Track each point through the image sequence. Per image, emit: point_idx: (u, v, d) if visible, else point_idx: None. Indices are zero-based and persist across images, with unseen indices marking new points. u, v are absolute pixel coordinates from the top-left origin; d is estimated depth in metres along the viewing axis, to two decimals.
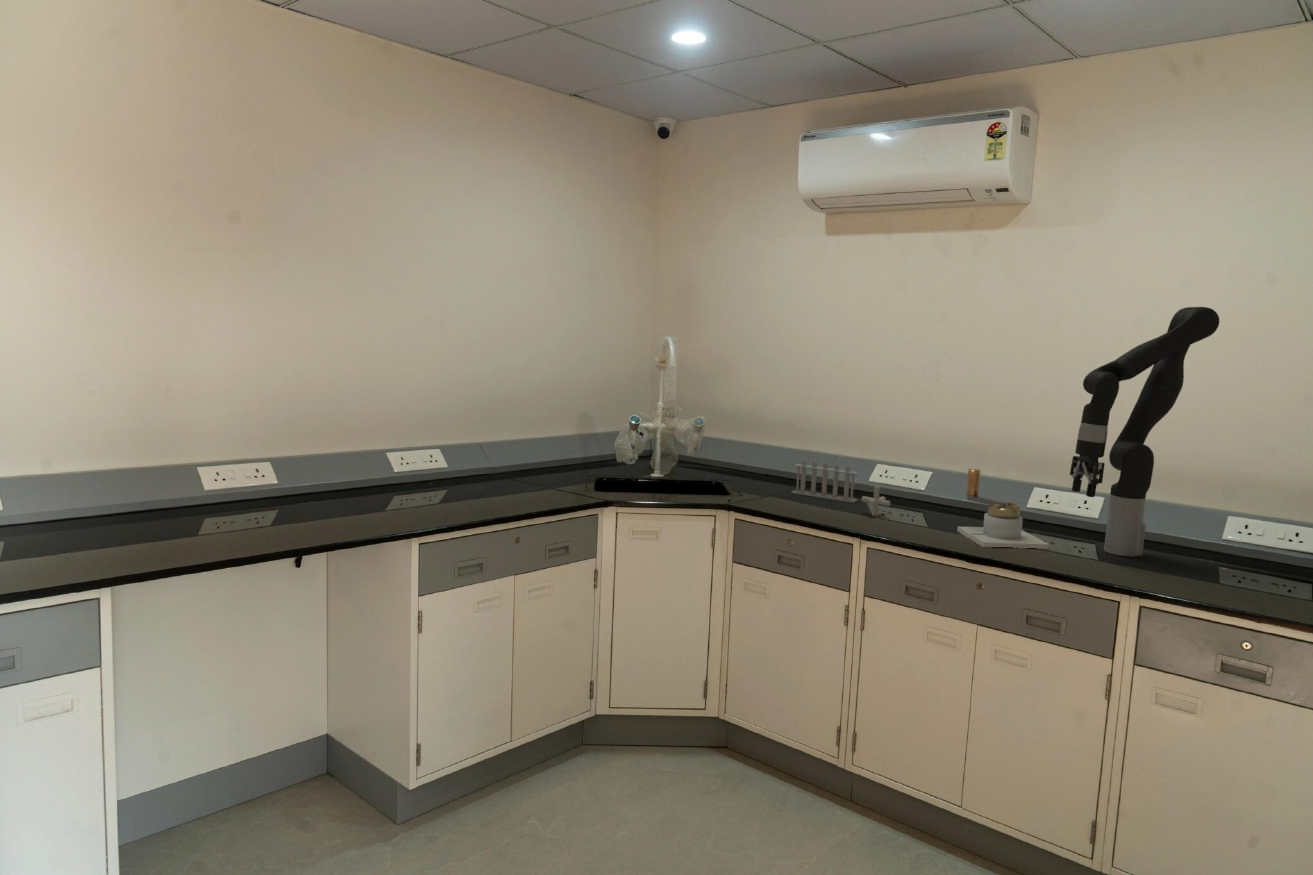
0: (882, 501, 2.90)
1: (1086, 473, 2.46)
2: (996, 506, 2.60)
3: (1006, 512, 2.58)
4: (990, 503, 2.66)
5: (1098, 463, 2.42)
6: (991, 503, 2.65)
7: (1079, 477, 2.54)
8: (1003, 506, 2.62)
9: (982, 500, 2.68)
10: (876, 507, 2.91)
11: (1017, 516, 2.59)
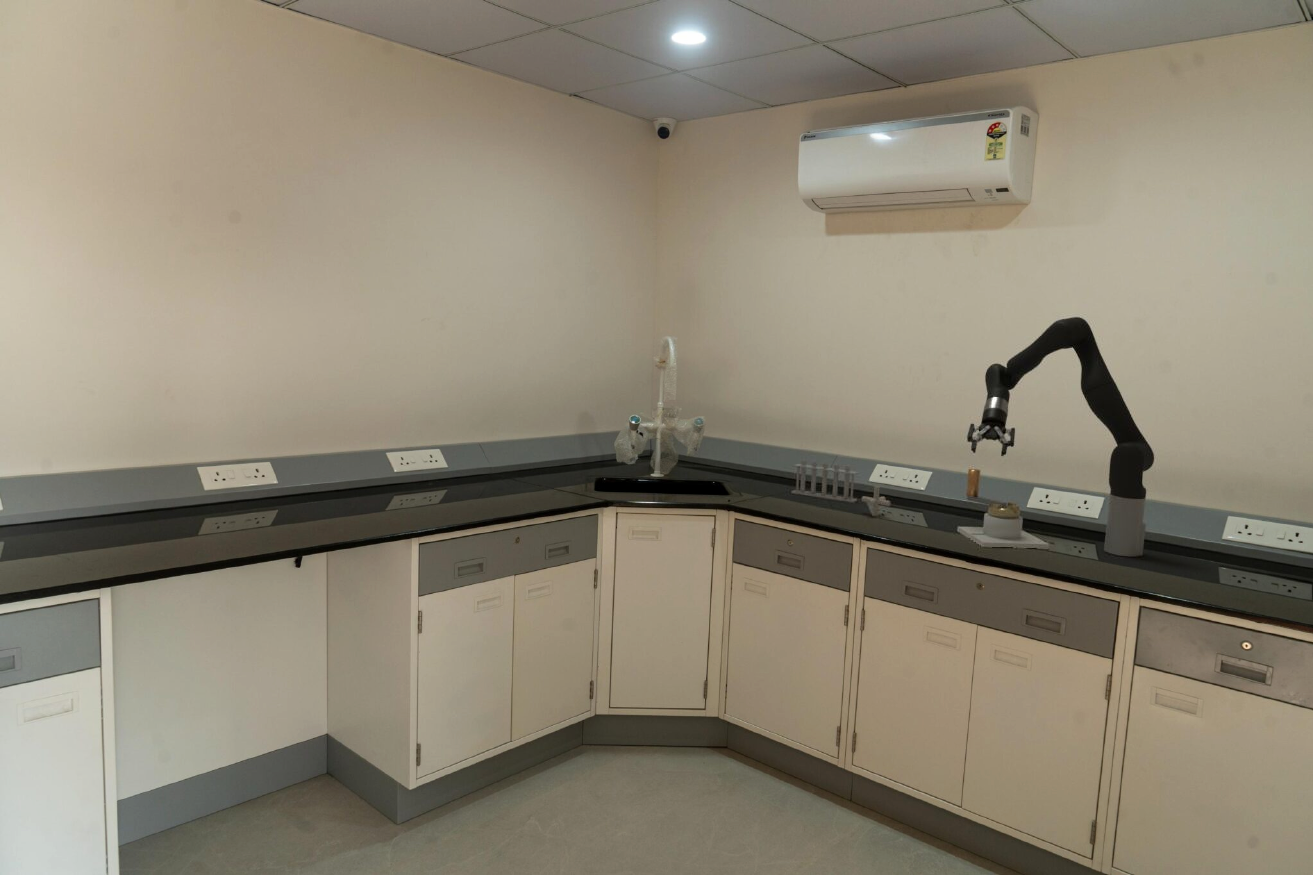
0: (882, 501, 2.90)
1: None
2: (996, 506, 2.60)
3: (1006, 512, 2.58)
4: (990, 503, 2.66)
5: None
6: (991, 503, 2.65)
7: (1003, 443, 2.73)
8: (1003, 506, 2.62)
9: (982, 500, 2.68)
10: (876, 507, 2.91)
11: (1017, 516, 2.59)
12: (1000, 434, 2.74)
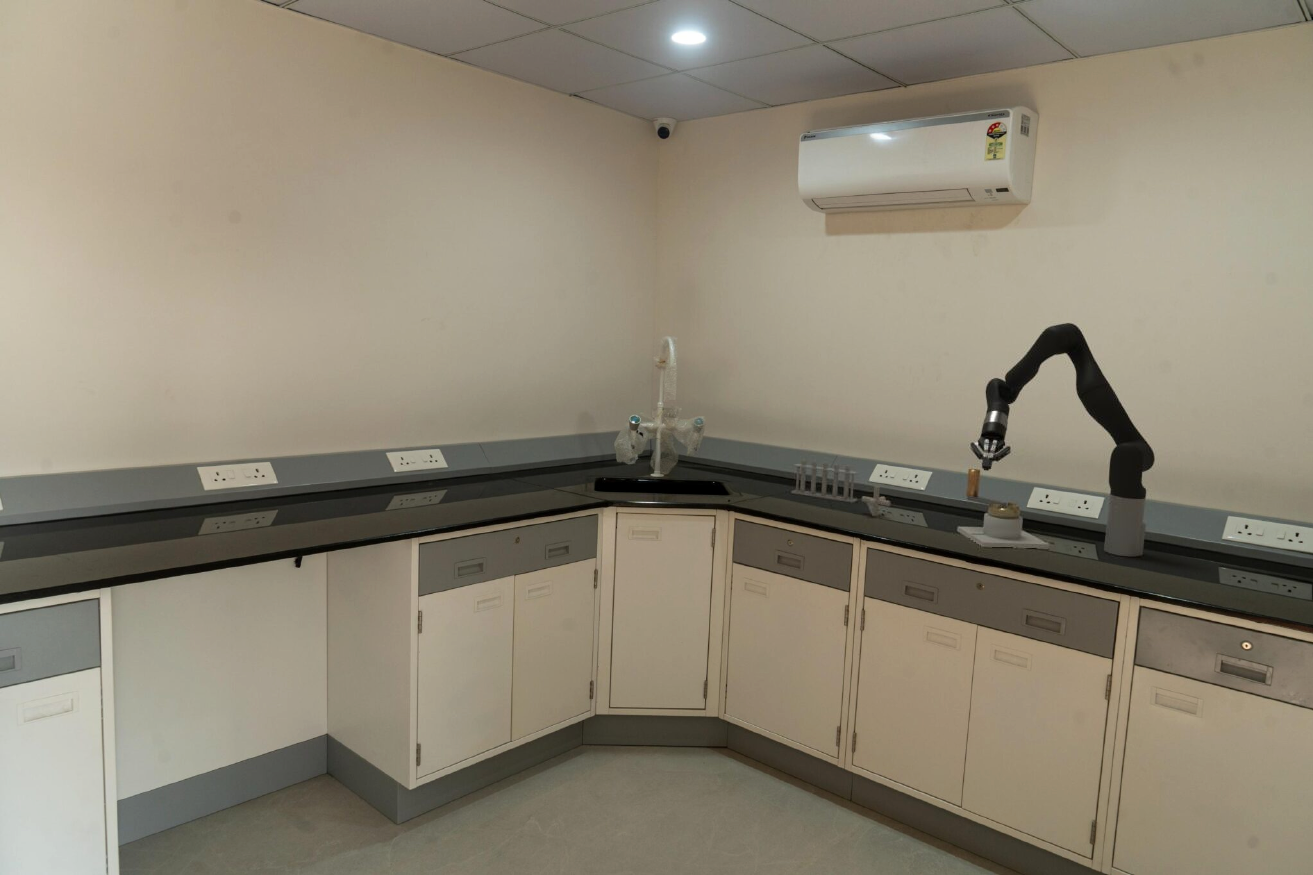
0: (882, 501, 2.90)
1: None
2: (996, 506, 2.60)
3: (1006, 512, 2.58)
4: (990, 503, 2.66)
5: None
6: (991, 503, 2.65)
7: None
8: (1003, 506, 2.62)
9: (982, 500, 2.68)
10: (876, 507, 2.91)
11: (1017, 516, 2.59)
12: (992, 448, 2.77)
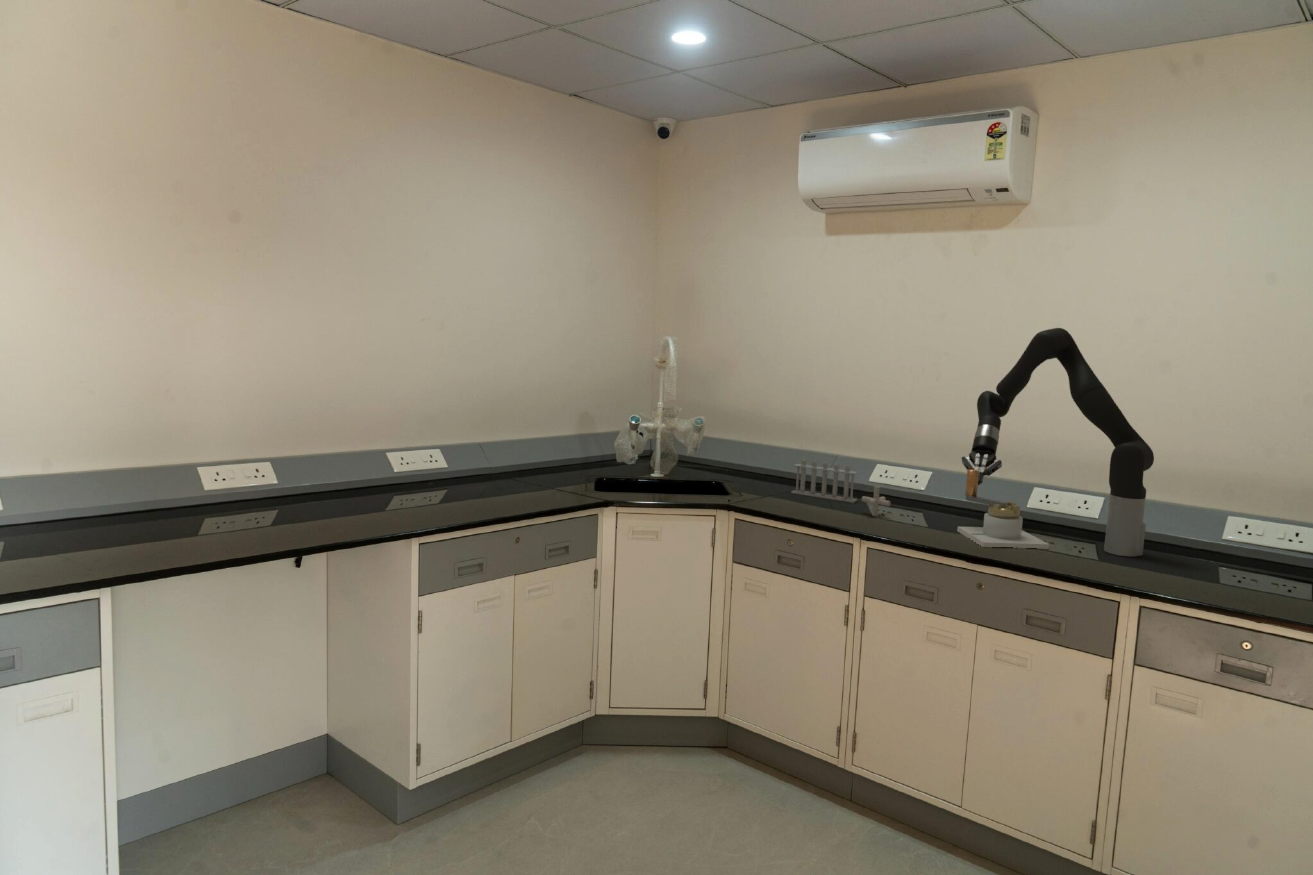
0: (882, 501, 2.90)
1: None
2: (997, 506, 2.60)
3: (1007, 512, 2.58)
4: (990, 503, 2.66)
5: (962, 461, 2.81)
6: (991, 503, 2.65)
7: (979, 472, 2.75)
8: (1003, 506, 2.62)
9: (981, 500, 2.68)
10: (876, 507, 2.91)
11: (1017, 516, 2.60)
12: (983, 462, 2.75)
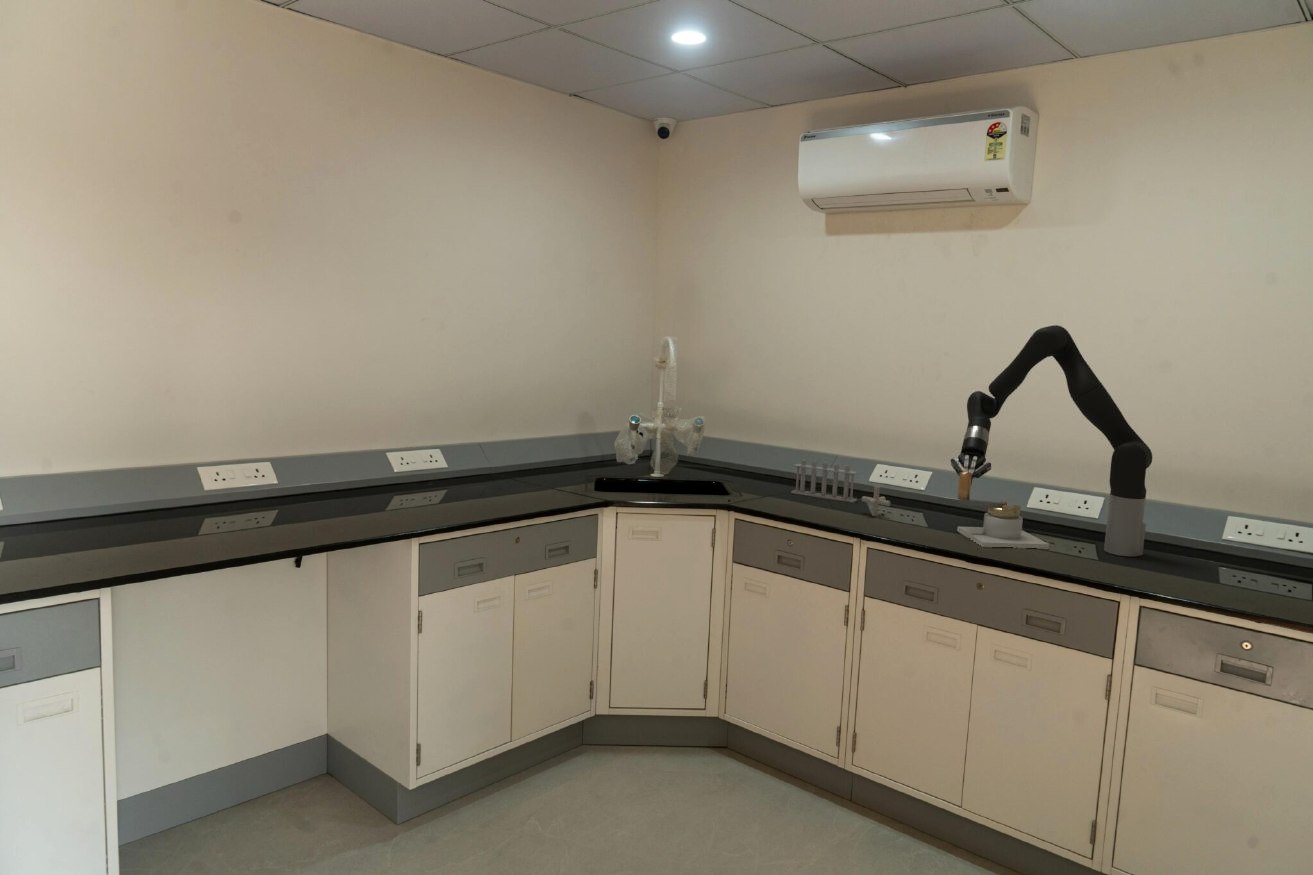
0: (882, 501, 2.90)
1: None
2: (1007, 507, 2.58)
3: (1016, 512, 2.59)
4: (989, 505, 2.63)
5: (951, 463, 2.75)
6: (991, 505, 2.63)
7: None
8: None
9: (979, 503, 2.64)
10: (876, 507, 2.91)
11: None
12: (972, 464, 2.70)
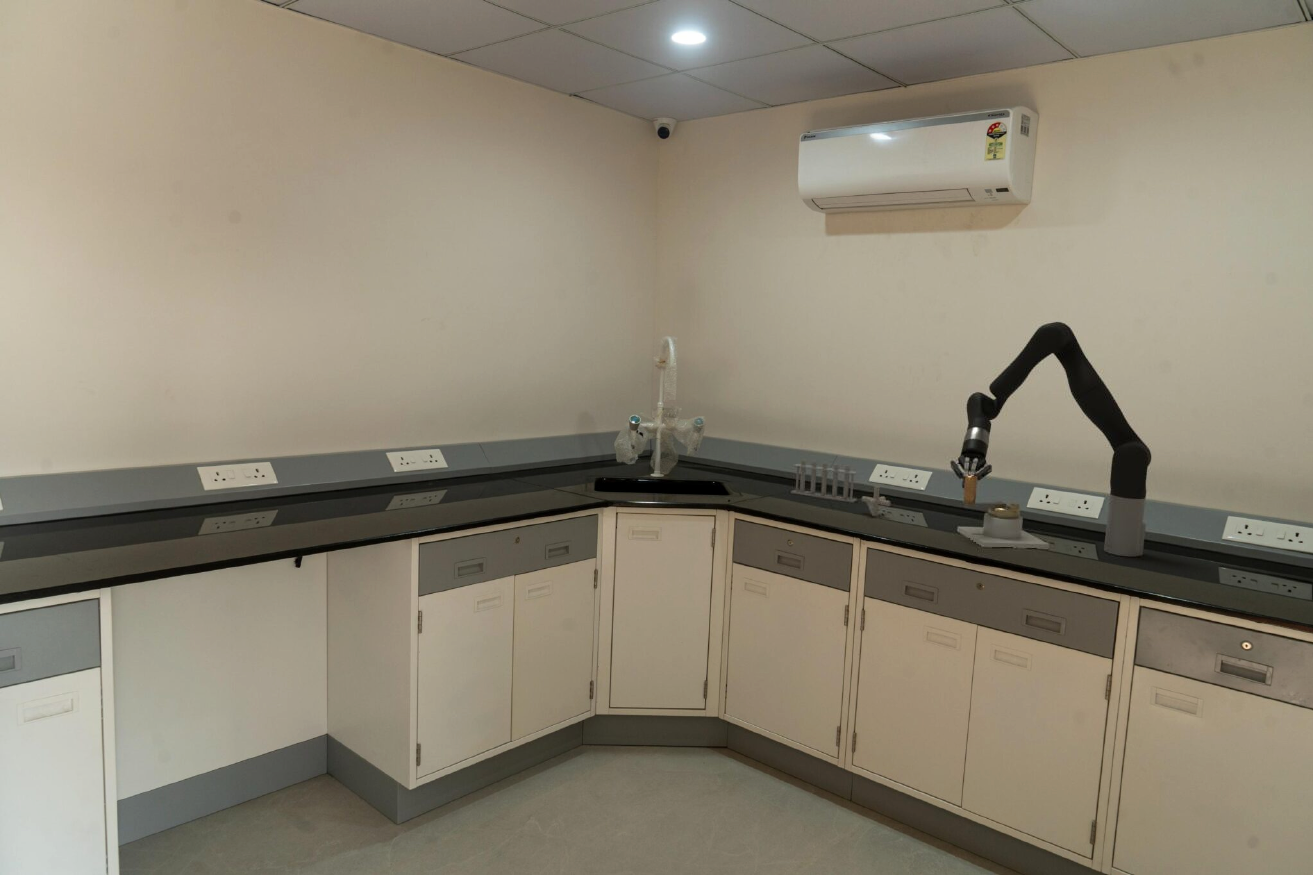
0: (882, 501, 2.90)
1: None
2: (1014, 508, 2.58)
3: (1019, 512, 2.60)
4: (993, 506, 2.61)
5: None
6: (994, 506, 2.61)
7: None
8: None
9: (984, 505, 2.60)
10: (876, 507, 2.91)
11: None
12: (973, 466, 2.65)
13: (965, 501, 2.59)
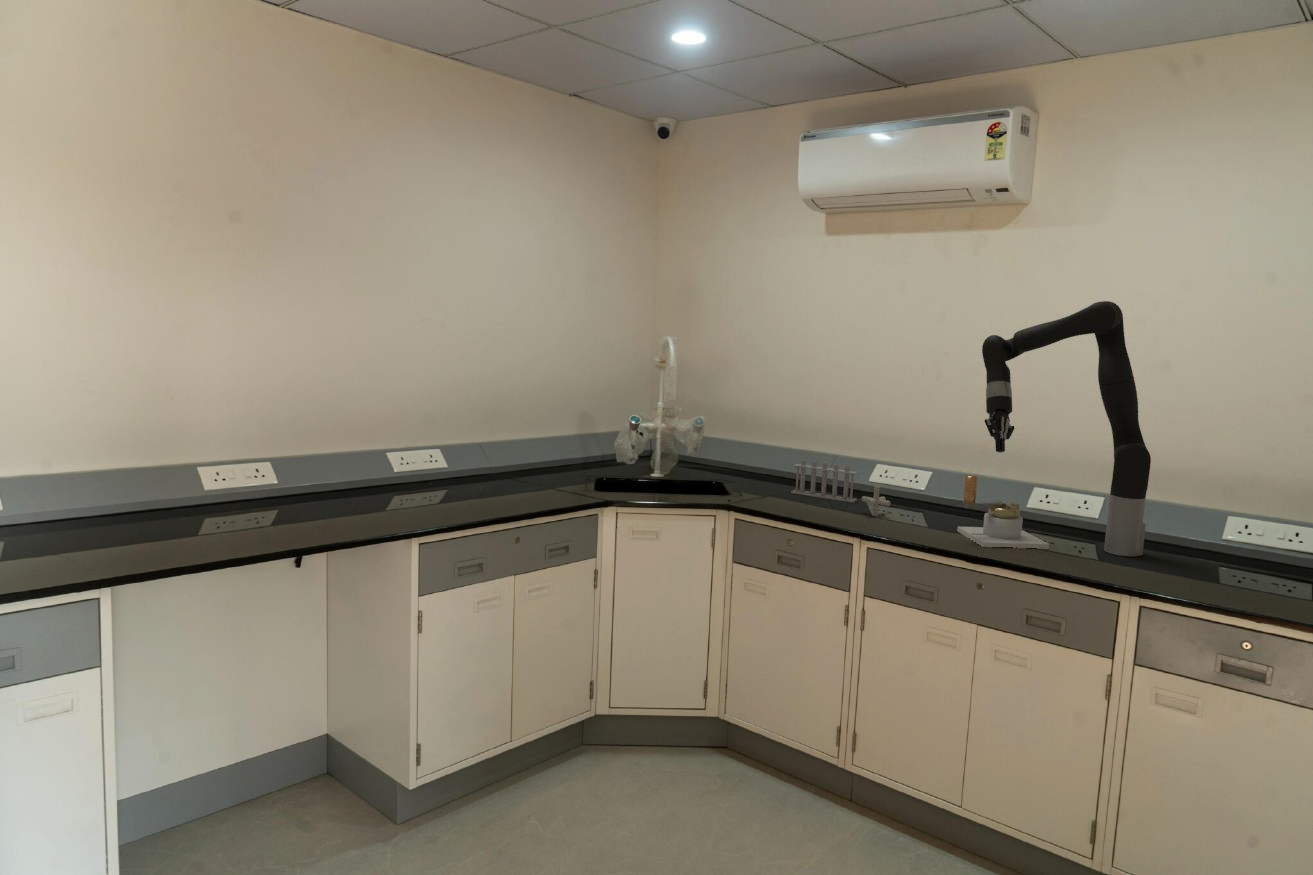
0: (882, 501, 2.90)
1: None
2: (1014, 508, 2.58)
3: (1019, 512, 2.60)
4: (993, 506, 2.61)
5: (986, 420, 2.61)
6: (994, 506, 2.61)
7: None
8: None
9: (984, 505, 2.60)
10: (876, 507, 2.91)
11: None
12: (1006, 428, 2.63)
13: (965, 501, 2.59)
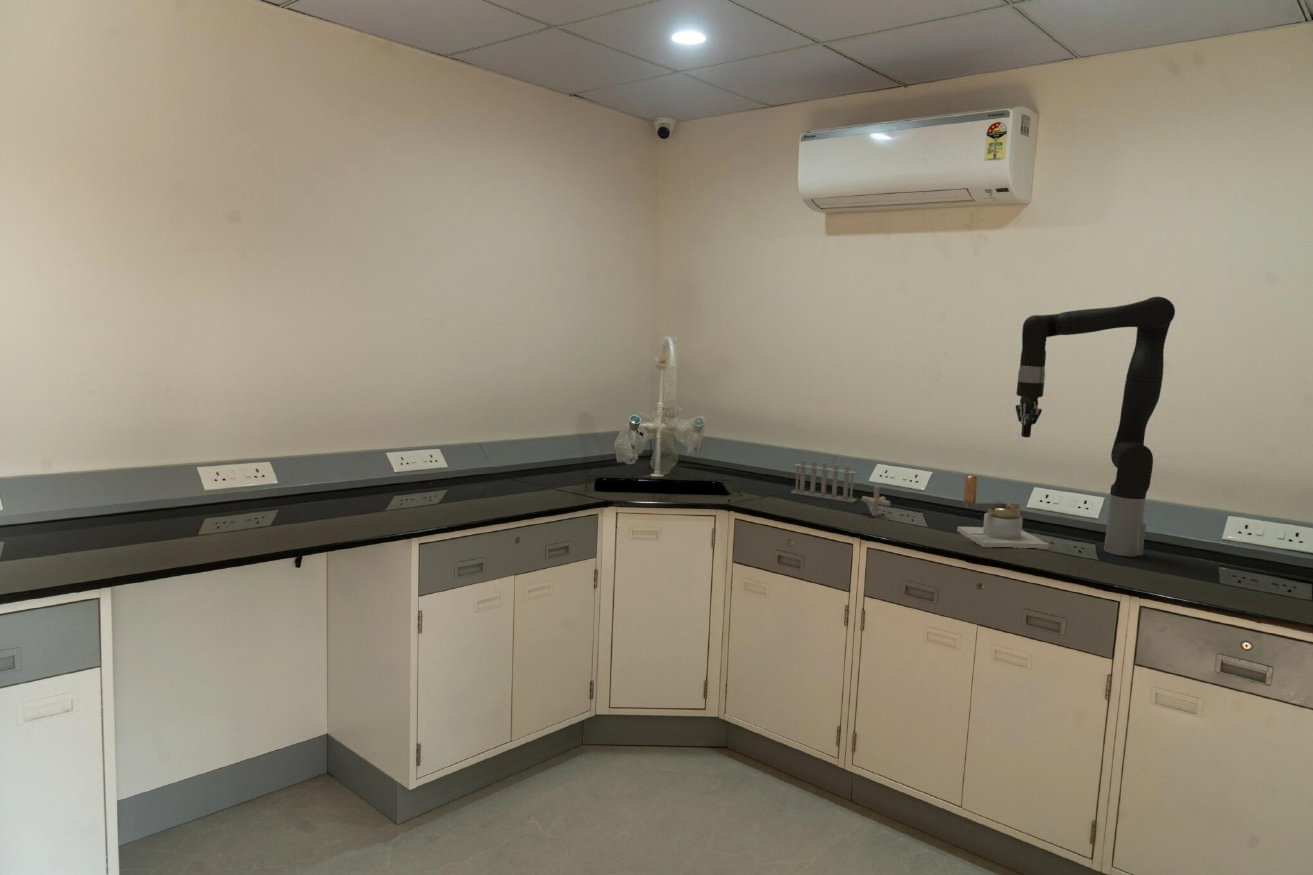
0: (882, 501, 2.90)
1: (1024, 415, 2.61)
2: (1014, 508, 2.58)
3: (1019, 512, 2.60)
4: (993, 506, 2.61)
5: (1036, 410, 2.56)
6: (994, 506, 2.61)
7: None
8: None
9: (984, 505, 2.60)
10: (876, 507, 2.91)
11: None
12: None
13: (965, 501, 2.59)
